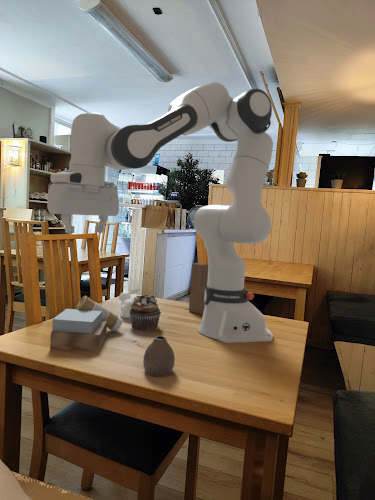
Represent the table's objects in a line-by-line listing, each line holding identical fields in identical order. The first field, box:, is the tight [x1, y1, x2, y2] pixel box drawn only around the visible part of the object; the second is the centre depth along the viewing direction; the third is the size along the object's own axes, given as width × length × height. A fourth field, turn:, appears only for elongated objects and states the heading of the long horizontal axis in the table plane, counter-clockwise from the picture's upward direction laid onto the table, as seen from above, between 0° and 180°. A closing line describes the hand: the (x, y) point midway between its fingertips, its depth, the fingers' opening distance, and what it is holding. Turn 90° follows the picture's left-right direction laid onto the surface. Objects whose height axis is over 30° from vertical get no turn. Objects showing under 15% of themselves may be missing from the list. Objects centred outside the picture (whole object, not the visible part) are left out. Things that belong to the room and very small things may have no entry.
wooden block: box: [188, 262, 208, 316], centre depth 134 cm, size 9×4×18 cm, turn 51°
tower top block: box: [51, 308, 102, 334], centre depth 97 cm, size 10×10×3 cm
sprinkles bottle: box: [75, 295, 123, 333], centre depth 106 cm, size 5×5×13 cm
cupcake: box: [129, 294, 162, 332], centre depth 113 cm, size 10×10×10 cm
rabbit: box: [118, 287, 141, 320], centre depth 125 cm, size 10×7×10 cm
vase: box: [142, 335, 176, 378], centre depth 82 cm, size 7×7×9 cm
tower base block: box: [49, 320, 108, 352], centre depth 98 cm, size 12×12×5 cm
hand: (85, 232), depth 95 cm, fingers open, 8 cm apart
